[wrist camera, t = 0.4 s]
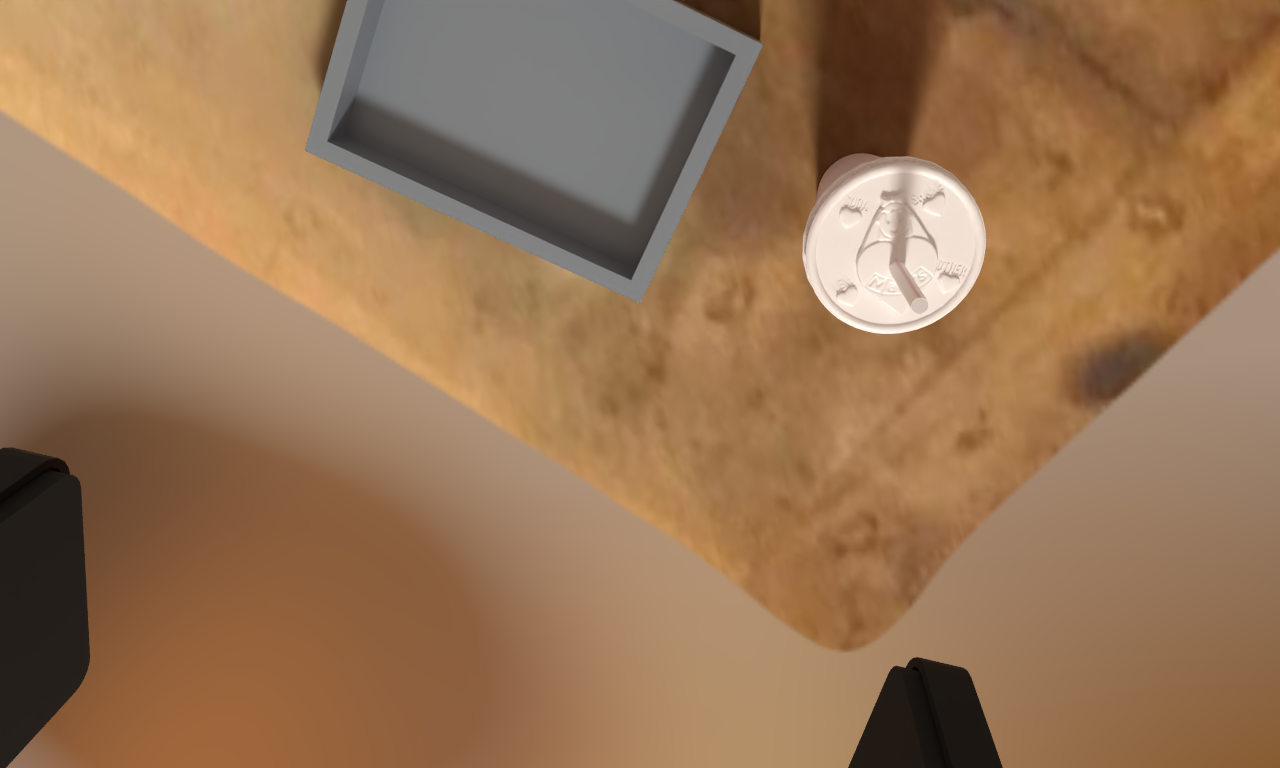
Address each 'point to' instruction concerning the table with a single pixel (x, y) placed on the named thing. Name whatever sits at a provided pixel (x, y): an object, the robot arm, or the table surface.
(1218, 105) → the table surface
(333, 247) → the table surface
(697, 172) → the grey tray
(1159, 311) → the table surface
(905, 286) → the smoothie
